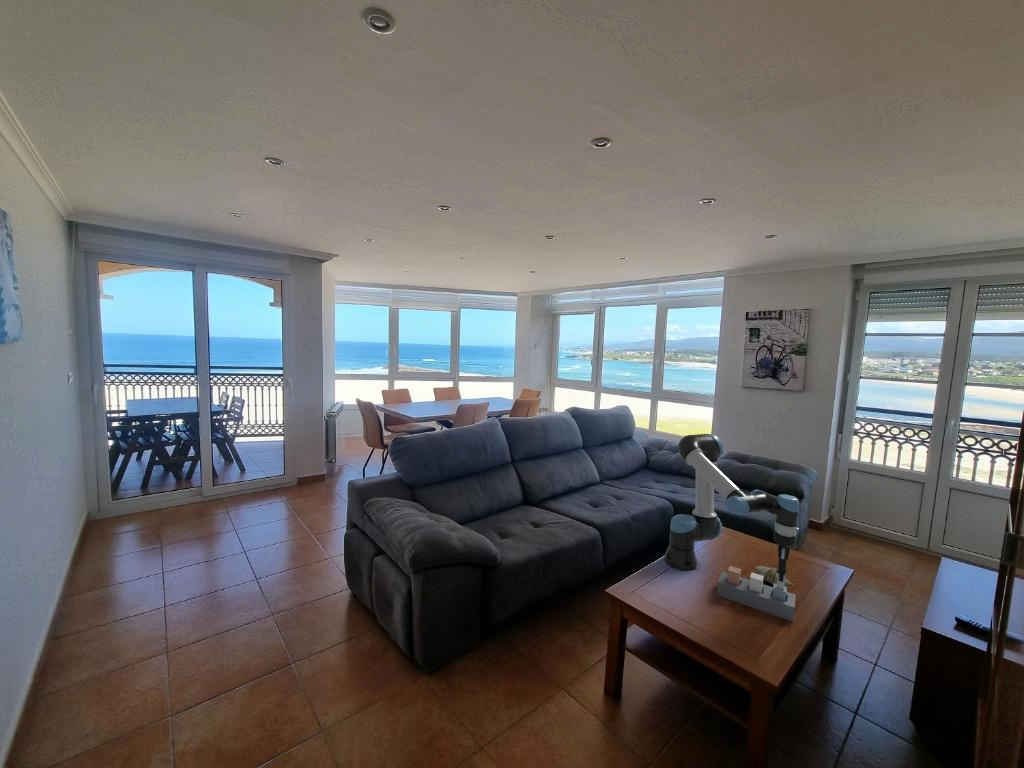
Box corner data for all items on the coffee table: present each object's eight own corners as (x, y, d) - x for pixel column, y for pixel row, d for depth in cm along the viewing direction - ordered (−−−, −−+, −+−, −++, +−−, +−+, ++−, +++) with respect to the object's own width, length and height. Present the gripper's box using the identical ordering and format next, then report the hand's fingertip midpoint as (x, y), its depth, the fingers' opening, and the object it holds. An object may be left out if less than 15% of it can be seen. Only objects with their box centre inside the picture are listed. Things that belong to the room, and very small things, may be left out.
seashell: (796, 578, 186) (781, 562, 185) (791, 596, 181) (776, 580, 181) (767, 576, 198) (753, 562, 198) (762, 593, 193) (747, 578, 193)
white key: (748, 592, 176) (750, 577, 175) (750, 587, 180) (751, 572, 179) (761, 596, 173) (762, 580, 172) (762, 591, 177) (763, 576, 176)
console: (716, 594, 181) (717, 582, 180) (721, 583, 189) (722, 571, 189) (793, 621, 164) (794, 607, 164) (794, 607, 173) (795, 594, 172)
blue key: (771, 604, 171) (773, 588, 170) (772, 598, 175) (774, 583, 174) (784, 608, 168) (786, 592, 168) (785, 602, 172) (787, 587, 171)
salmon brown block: (726, 585, 181) (728, 570, 180) (728, 580, 185) (729, 565, 184) (738, 589, 178) (739, 573, 178) (740, 584, 182) (741, 569, 181)
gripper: (795, 541, 161) (790, 598, 163) (797, 530, 171) (792, 583, 174) (773, 536, 165) (768, 591, 168) (775, 525, 176) (771, 577, 178)
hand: (780, 587), depth 171 cm, fingers closed
